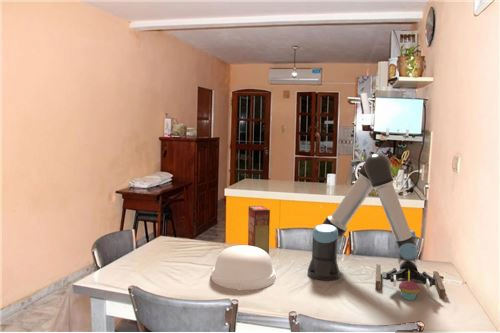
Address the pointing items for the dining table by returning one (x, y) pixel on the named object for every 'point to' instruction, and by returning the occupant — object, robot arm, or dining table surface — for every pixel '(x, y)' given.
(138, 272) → the dining table surface
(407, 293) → the cupcake
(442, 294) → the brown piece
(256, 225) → the food packaging
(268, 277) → the dome cover
